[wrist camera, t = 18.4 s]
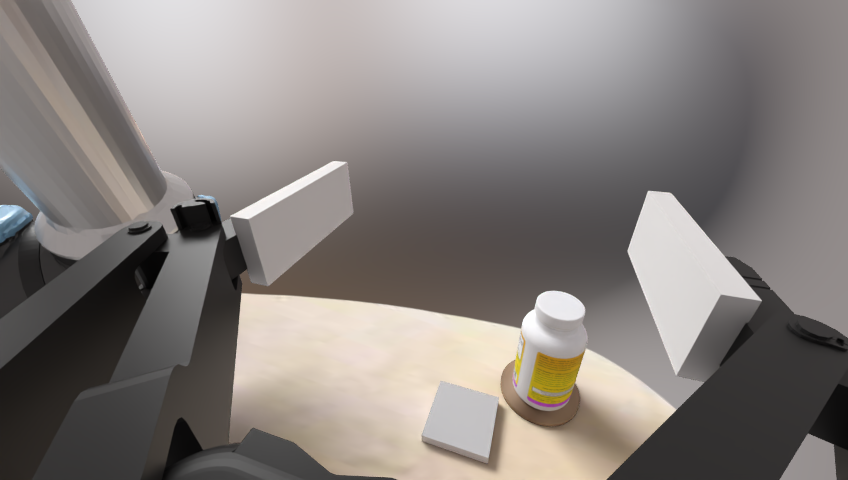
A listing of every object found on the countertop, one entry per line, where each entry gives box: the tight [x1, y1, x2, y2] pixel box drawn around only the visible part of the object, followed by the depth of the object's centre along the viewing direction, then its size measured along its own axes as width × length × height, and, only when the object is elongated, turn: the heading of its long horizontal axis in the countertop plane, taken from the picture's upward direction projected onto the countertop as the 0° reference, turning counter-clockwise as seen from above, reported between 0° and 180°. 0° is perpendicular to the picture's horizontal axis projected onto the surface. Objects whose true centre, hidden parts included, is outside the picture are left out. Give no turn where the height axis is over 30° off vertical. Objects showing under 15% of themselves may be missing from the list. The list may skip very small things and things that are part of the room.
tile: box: [422, 381, 499, 464], centre depth 37 cm, size 2×7×7 cm
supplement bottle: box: [513, 291, 588, 411], centre depth 37 cm, size 7×7×13 cm
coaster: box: [501, 360, 580, 426], centre depth 41 cm, size 9×9×1 cm
